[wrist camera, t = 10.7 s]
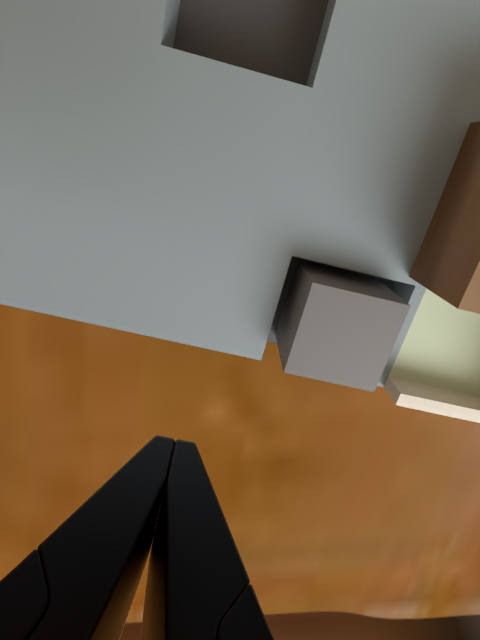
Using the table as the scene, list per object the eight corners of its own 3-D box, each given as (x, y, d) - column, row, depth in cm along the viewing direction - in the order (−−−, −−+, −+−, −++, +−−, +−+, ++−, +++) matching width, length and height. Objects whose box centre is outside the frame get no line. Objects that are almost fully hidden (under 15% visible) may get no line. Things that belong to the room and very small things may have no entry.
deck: (22, 285, 19) (-56, 329, 14) (40, -146, 14) (-78, -330, 9) (471, 385, 22) (544, 454, 16) (648, 48, 16) (844, -8, 11)
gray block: (275, 334, 20) (283, 372, 16) (298, 259, 19) (312, 282, 15) (349, 350, 20) (374, 391, 17) (377, 278, 19) (410, 305, 15)
